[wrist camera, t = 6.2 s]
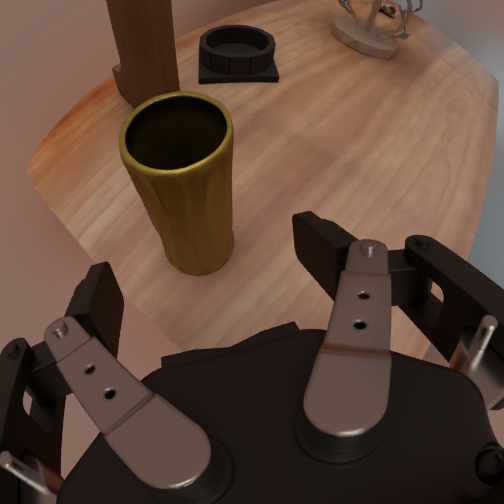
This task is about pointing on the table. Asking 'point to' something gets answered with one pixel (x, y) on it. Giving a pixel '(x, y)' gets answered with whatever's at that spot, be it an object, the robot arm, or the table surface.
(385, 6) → the ornament
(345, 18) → the table lamp
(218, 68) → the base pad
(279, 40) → the table surface
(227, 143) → the vase
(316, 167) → the table surface
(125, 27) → the wooden block
